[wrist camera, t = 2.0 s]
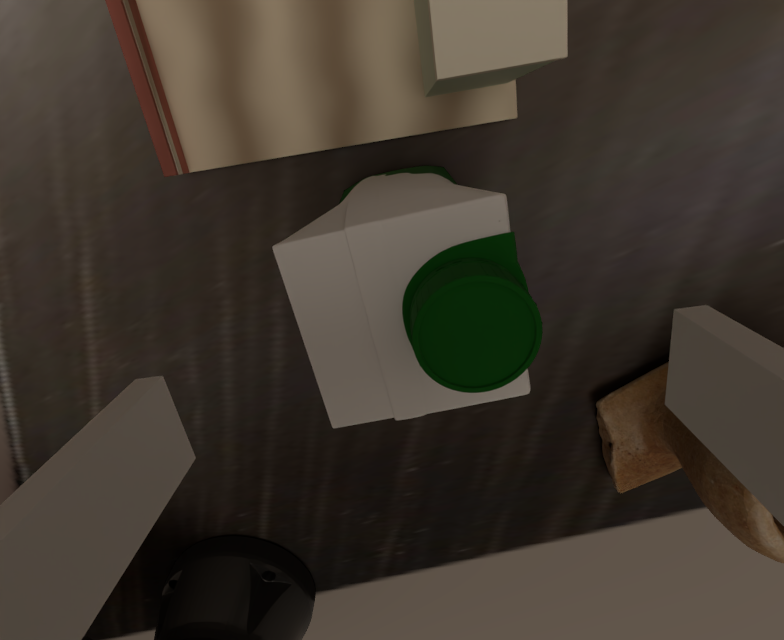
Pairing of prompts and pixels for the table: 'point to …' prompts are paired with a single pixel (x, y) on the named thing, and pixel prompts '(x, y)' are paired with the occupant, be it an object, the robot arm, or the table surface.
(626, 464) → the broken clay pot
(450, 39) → the tea tin
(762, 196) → the table surface
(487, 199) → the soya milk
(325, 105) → the shelf board
